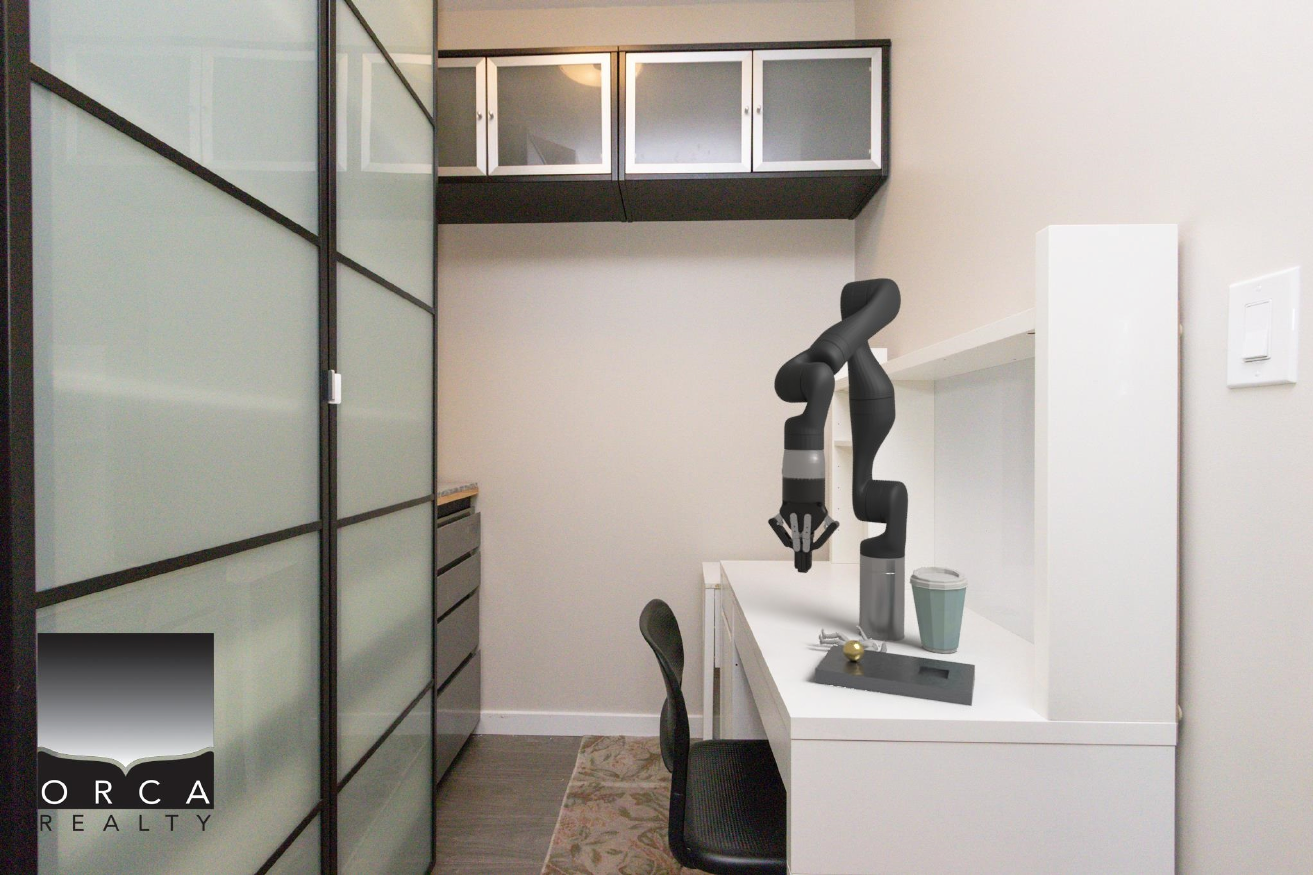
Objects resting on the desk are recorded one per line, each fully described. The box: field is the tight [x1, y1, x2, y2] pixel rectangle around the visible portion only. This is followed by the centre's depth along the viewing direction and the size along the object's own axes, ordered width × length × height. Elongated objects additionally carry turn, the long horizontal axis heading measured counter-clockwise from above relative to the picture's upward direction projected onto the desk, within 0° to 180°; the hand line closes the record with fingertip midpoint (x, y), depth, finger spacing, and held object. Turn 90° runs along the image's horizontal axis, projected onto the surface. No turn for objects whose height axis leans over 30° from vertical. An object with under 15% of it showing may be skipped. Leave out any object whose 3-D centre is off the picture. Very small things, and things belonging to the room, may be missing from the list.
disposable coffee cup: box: [909, 566, 969, 654], centre depth 137 cm, size 11×11×15 cm
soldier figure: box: [818, 624, 888, 653], centre depth 135 cm, size 8×5×12 cm
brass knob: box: [843, 639, 864, 661], centre depth 122 cm, size 4×4×4 cm
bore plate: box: [814, 644, 976, 707], centre depth 119 cm, size 14×24×2 cm, turn 64°
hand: (802, 571), depth 126 cm, fingers closed
